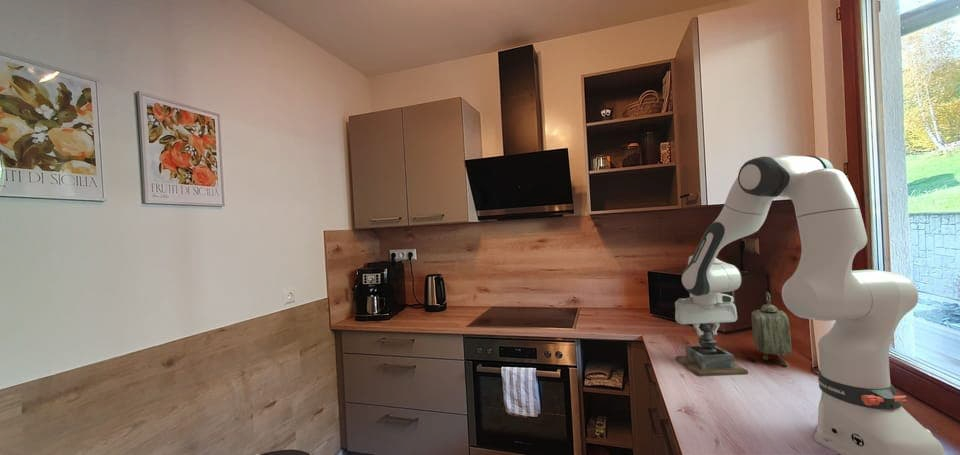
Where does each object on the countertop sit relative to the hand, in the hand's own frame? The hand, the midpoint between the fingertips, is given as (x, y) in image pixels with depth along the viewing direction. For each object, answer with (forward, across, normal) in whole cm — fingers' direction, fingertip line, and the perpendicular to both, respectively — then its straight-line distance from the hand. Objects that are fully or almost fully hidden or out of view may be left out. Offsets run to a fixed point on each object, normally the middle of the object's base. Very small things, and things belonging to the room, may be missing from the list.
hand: (706, 335), depth 127 cm
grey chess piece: (+6, 0, 0) cm, 6 cm away
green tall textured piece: (+12, +24, +3) cm, 27 cm away
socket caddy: (+11, 0, 0) cm, 11 cm away
